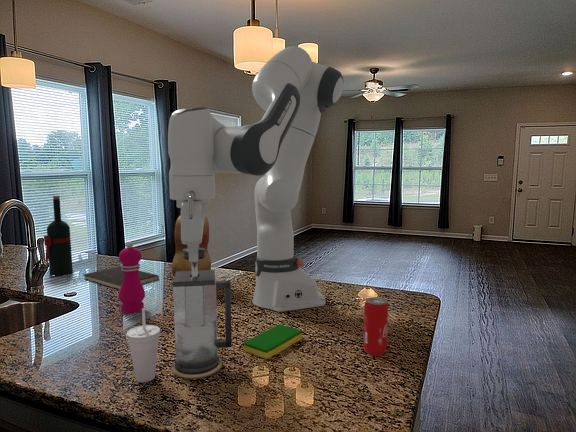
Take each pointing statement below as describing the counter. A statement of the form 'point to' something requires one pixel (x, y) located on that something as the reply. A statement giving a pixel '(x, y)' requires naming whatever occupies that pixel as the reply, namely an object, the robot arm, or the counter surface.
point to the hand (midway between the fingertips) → (194, 258)
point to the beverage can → (375, 326)
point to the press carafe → (198, 324)
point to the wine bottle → (58, 244)
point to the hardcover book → (117, 277)
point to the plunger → (194, 264)
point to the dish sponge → (272, 341)
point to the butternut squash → (178, 260)
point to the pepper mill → (131, 281)
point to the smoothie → (144, 349)
